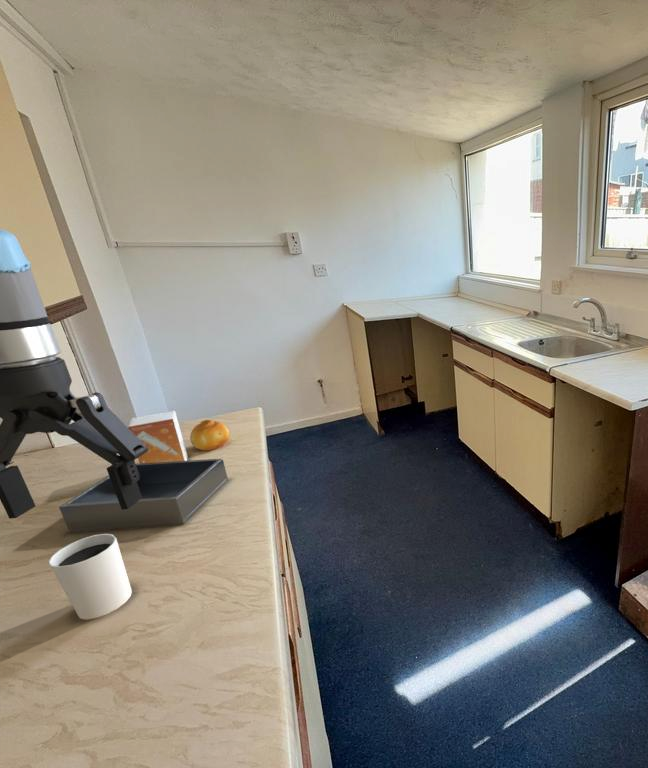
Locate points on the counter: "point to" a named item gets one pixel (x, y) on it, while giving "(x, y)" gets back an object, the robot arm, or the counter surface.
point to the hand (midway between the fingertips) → (78, 508)
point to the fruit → (209, 435)
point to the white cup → (92, 575)
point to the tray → (148, 497)
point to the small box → (159, 437)
